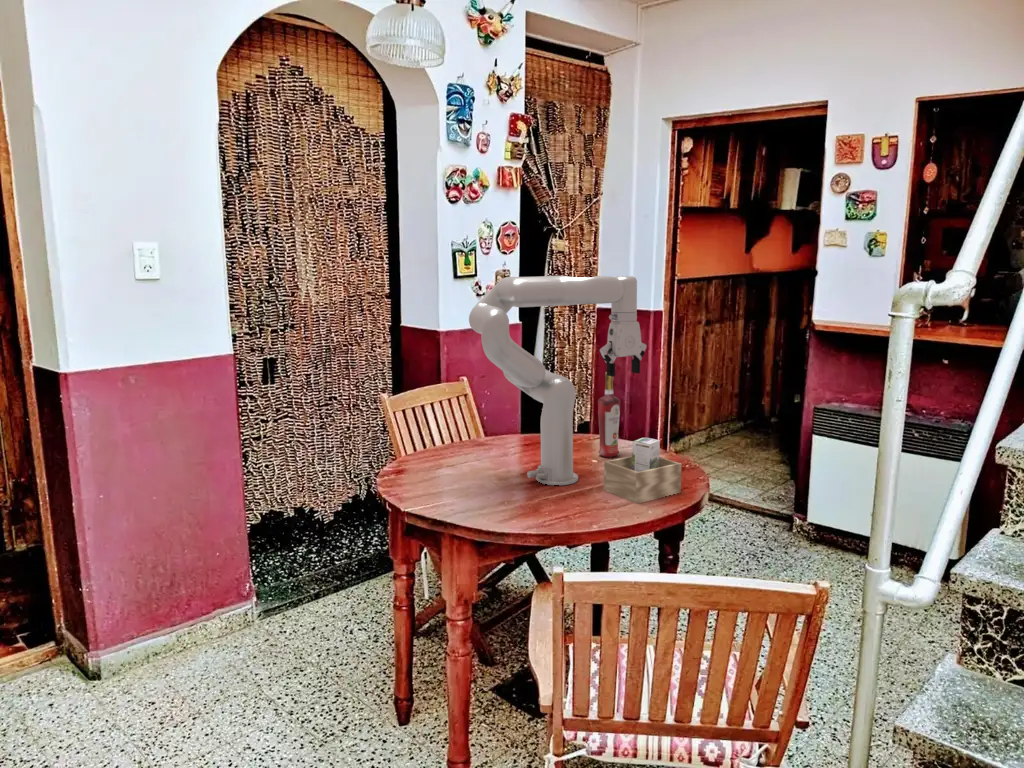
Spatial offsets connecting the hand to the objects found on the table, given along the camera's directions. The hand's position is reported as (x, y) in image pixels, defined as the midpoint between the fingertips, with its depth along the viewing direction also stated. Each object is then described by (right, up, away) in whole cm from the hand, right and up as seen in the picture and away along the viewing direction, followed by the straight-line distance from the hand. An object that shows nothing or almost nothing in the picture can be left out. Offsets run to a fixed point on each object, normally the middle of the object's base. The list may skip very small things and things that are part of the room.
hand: (623, 374), depth 225 cm
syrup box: (+4, -33, -13) cm, 36 cm away
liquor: (-1, -27, +23) cm, 35 cm away
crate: (+3, -33, -15) cm, 37 cm away
